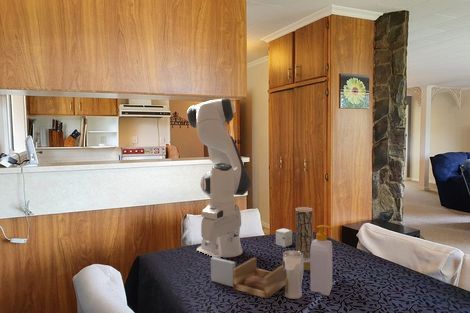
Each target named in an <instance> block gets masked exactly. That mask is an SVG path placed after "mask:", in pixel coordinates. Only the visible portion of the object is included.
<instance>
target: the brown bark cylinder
mask: <svg viewBox="0 0 470 313" xmlns="http://www.w3.org/2000/svg"><path fill="white" fill-rule="evenodd" d="M313 214H314V210H313V208H312V207H310V206H309V207H307V206H299V207H296V208H295V251H299V252H301V253H303V262H304V271H310V249H311V243H312V240H314V226H313V225H314V220H313V218H314V215H313Z"/></svg>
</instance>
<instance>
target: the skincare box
mask: <svg viewBox="0 0 470 313" xmlns="http://www.w3.org/2000/svg"><path fill="white" fill-rule="evenodd" d="M275 245H277V246H279V247H284V248H285V247H289V246H292V245H293V230H292V229H289V228H279V229H277V230H276V229H275Z"/></svg>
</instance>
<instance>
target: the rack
mask: <svg viewBox="0 0 470 313" xmlns="http://www.w3.org/2000/svg"><path fill="white" fill-rule="evenodd" d="M235 267H236V268H234V269H233V287H232V289H233V290H235V291H239V292H244V293H247V294H250V295H254V296H257V297H261V298H264V299H269V298H271V297H272V296H273V295H274V294H275V293H277V292H278V291H279V290H281V289H282V288H283V287H285V280H284V274H283V264H281V265H280V266H278V267H277V268H276V269H273V271H271V270H266V269H263V268H262V269H261V268H257V257H251V258H250V259H248V260H247V261H246V260H245V261H244V262H243V263H241V264H239V265H238V266H235ZM250 275H252V276H257V277H262V278H264V291H262V290H258V289H254V288H251V287H247V286H244V282H245V279H246V278H248V277H249V276H250Z"/></svg>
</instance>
